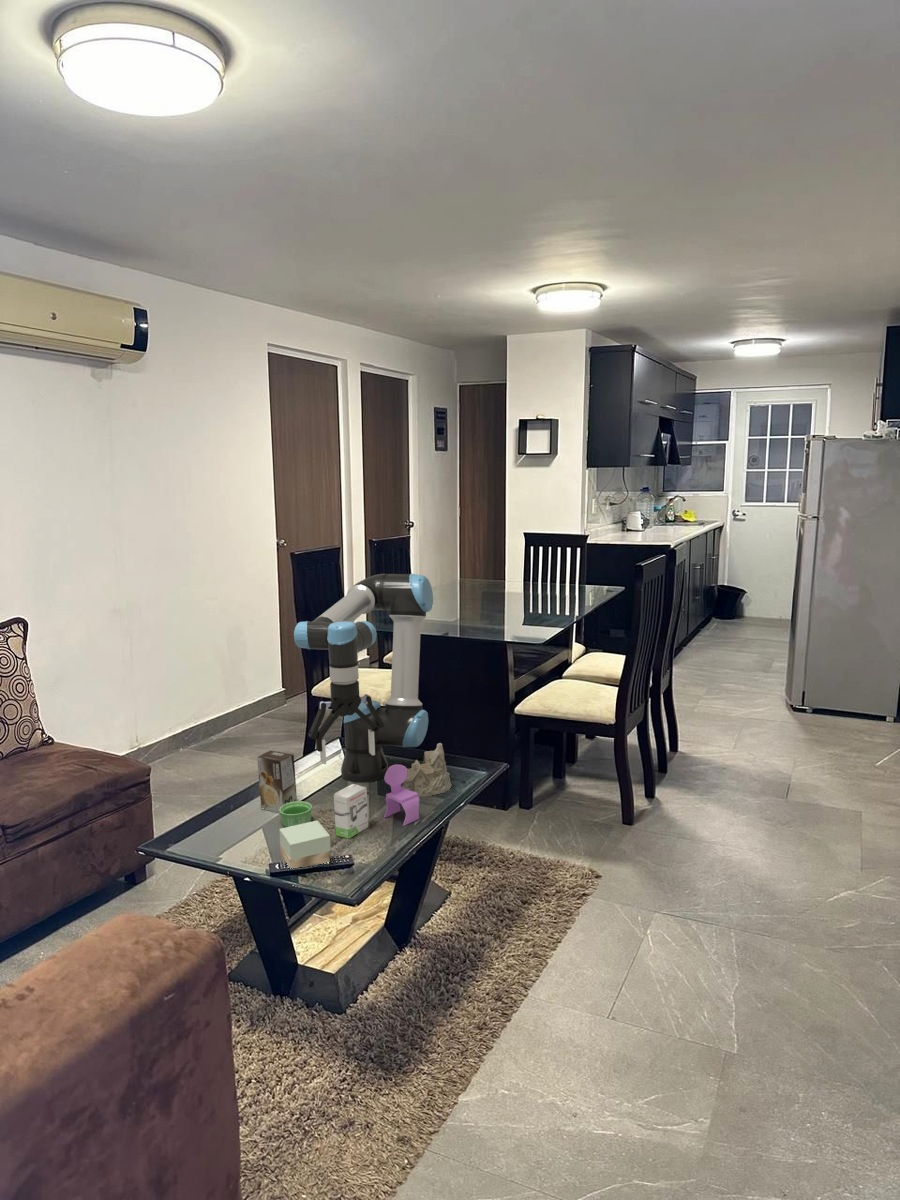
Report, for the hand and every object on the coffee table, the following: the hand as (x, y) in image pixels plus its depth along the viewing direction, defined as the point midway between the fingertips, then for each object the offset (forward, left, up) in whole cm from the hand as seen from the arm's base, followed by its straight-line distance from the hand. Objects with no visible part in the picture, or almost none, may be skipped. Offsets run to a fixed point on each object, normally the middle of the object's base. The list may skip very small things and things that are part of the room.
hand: (348, 758), depth 217 cm
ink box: (0, 0, -21) cm, 21 cm away
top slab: (+15, +10, -17) cm, 25 cm away
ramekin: (+12, -13, -21) cm, 28 cm away
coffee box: (+14, -25, -21) cm, 36 cm away
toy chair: (-15, -1, -21) cm, 26 cm away
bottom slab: (+16, +10, -21) cm, 28 cm away
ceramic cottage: (-31, -19, -21) cm, 42 cm away
